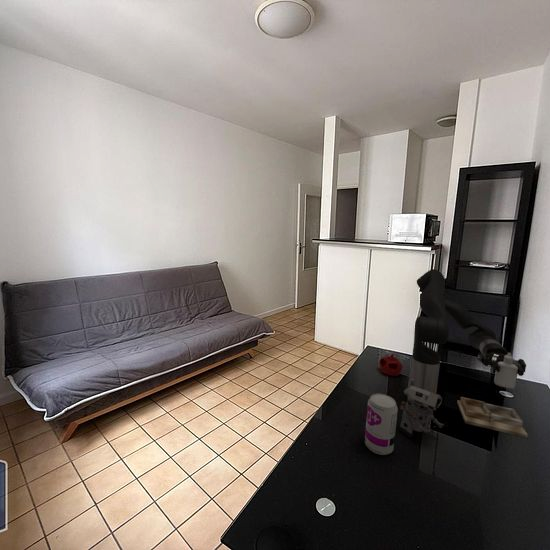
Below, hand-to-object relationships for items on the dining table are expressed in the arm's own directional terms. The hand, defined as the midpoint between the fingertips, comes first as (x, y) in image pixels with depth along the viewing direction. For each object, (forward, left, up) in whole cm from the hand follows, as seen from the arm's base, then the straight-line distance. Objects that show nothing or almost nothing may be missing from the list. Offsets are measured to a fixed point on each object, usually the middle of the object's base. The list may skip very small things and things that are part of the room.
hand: (510, 371), depth 96 cm
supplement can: (-39, -30, -19) cm, 52 cm away
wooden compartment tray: (-4, 0, -19) cm, 19 cm away
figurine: (-27, -19, -19) cm, 38 cm away
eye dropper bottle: (0, +3, -7) cm, 7 cm away
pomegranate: (-36, +21, -19) cm, 46 cm away
